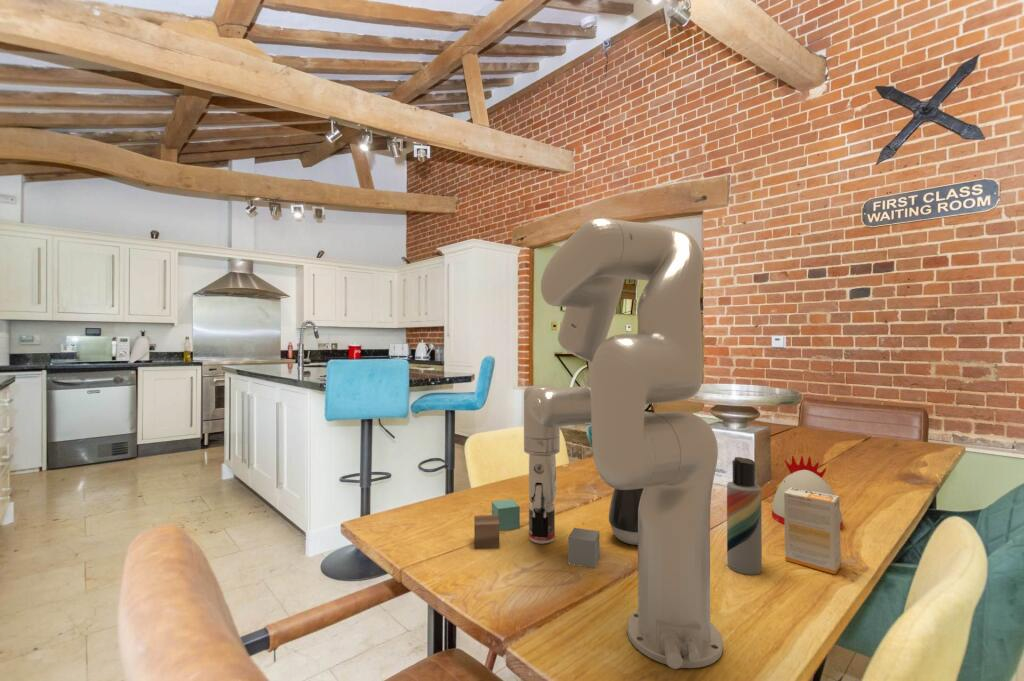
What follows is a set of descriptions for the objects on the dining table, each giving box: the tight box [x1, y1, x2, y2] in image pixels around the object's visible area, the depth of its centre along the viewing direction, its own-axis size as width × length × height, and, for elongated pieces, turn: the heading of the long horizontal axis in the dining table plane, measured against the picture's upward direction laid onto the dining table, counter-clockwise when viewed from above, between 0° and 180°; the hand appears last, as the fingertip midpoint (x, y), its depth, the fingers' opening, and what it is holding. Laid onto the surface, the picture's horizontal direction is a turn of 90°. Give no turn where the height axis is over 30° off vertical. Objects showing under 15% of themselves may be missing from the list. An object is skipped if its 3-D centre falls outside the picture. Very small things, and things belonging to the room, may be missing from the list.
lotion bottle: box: [726, 456, 763, 575], centre depth 87 cm, size 6×6×20 cm
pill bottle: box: [528, 490, 556, 545], centre depth 99 cm, size 5×5×10 cm
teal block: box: [491, 498, 521, 532], centre depth 107 cm, size 5×5×5 cm
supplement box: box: [784, 487, 842, 575], centre depth 88 cm, size 8×5×13 cm, turn 44°
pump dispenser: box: [608, 488, 644, 546], centre depth 99 cm, size 10×10×15 cm
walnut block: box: [473, 514, 500, 550], centre depth 98 cm, size 5×5×5 cm
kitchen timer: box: [771, 455, 844, 531], centre depth 110 cm, size 14×14×15 cm
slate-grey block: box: [567, 527, 601, 569], centre depth 90 cm, size 5×5×5 cm
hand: (541, 529), depth 99 cm, fingers closed on pill bottle, 5 cm apart
